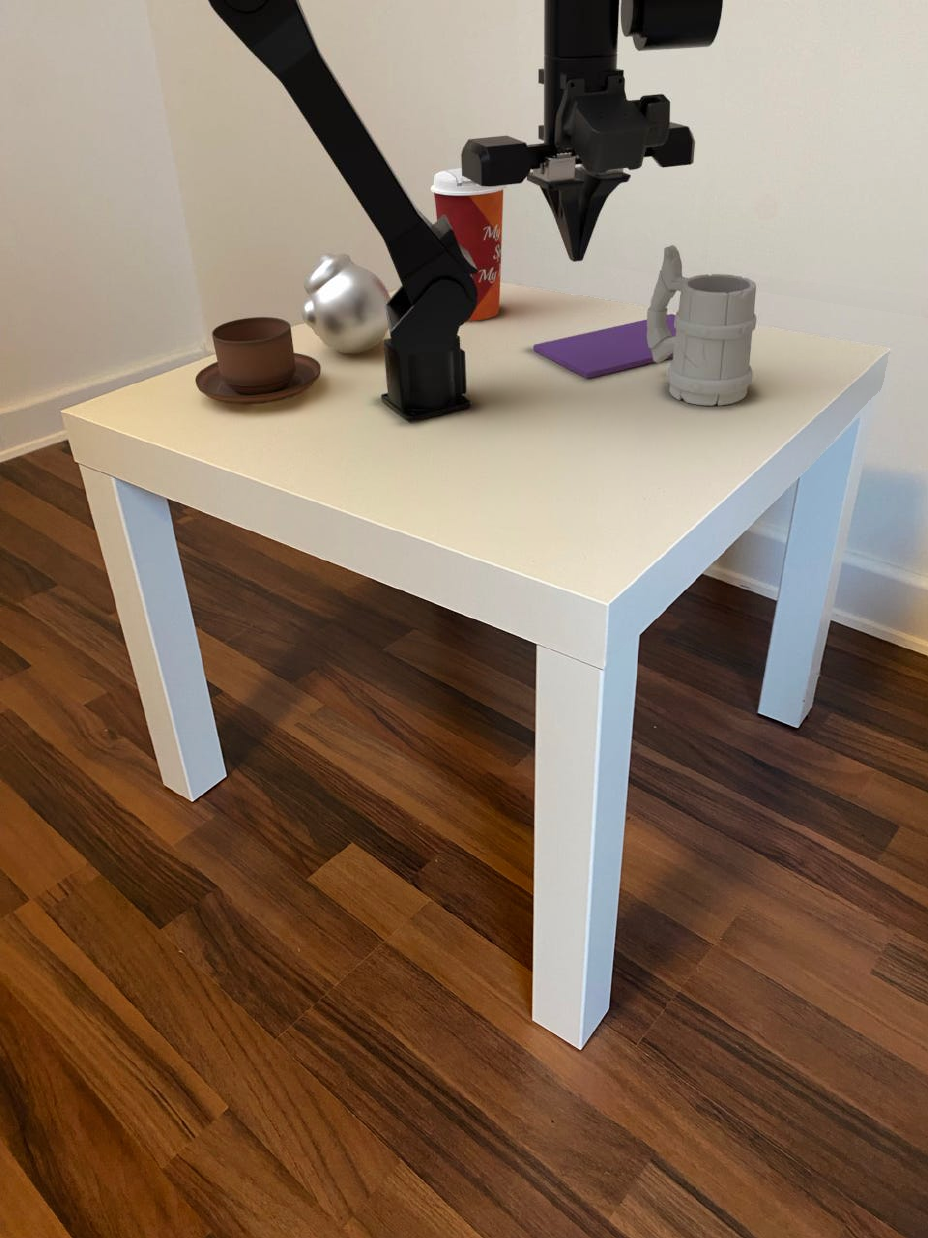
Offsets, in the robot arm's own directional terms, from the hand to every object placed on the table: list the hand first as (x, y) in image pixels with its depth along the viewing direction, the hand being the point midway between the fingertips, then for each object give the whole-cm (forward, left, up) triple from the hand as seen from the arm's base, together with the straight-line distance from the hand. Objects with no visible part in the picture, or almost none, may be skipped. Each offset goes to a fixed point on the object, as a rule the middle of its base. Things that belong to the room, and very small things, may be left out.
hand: (576, 260), depth 85 cm
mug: (+10, -5, -12) cm, 17 cm away
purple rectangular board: (+12, +7, -12) cm, 18 cm away
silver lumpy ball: (-13, +23, -12) cm, 29 cm away
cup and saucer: (-25, +17, -12) cm, 33 cm away
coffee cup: (+4, +27, -12) cm, 30 cm away
